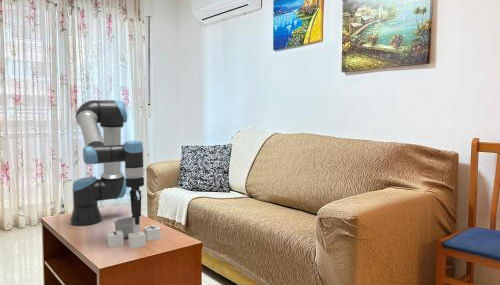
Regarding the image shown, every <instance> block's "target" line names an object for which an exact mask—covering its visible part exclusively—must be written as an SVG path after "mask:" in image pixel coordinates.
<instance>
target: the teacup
mask: <svg viewBox="0 0 500 285" xmlns="http://www.w3.org/2000/svg"><path fill="white" fill-rule="evenodd" d="M114 228H115V231H122V233H123V236H124V239H127V238H128V233H135V232H133V218H132V216H126V217H121V218H118V219H116V220H114Z"/></svg>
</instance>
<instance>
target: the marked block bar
mask: <svg viewBox="0 0 500 285" xmlns="http://www.w3.org/2000/svg"><path fill="white" fill-rule="evenodd" d="M106 238H107V239H106V243H107V246H108V249H109V248H115V247H116V248H117V247H123V246H124V245H125V243H124V242H125V241H124V239H125V238H124V236H123V233H122V231H116V230H115V231H110V232H107V233H106Z"/></svg>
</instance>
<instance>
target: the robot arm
mask: <svg viewBox="0 0 500 285" xmlns="http://www.w3.org/2000/svg"><path fill="white" fill-rule="evenodd" d="M75 121H76V124H77V125H78V126H79V128H80V131H81V134H82V137H83V141H84V145H85V146H84V147H83V148H82V159H83V163H84V164H86V165H92V164H93V165H96V164H98V165H99V164H103V172H102V173H101V175H100V178H97V177H96V176H86V177H82V178H79V179H76V180H74V181H73V183H72V198H73V211H72V214H71V217H70V225H72V226H75V227H76V226H80V227H81V226H89V225H95V224H97V223H100V222H101V221H102V220H103V219H102V218H103V217H102V214H101V213H102V212H100V209H99V206H98V205H99V204H98V202H99V201H107V200H116V199H122V198H124V197H125V196H126V193H127V190H128V189H127V188H130V190H129V197H130V210H131V217H132V218H133V232H141V216H142V197H143V196H142V191H141V190H140V188H141V187H143V186H144V185H145V177H144V176H145V175H144V174H145V173H144V172H145V170H146V169H145V168H144V147H143V141H140V140H128V141H125V142H124V143H123V144H121V140H122V139H121V136H122V135H121V133H122V132H121V131H122V128H123V127H124V125H125V123H127V122H128V112H127V108H126V106H125V103H124V102H123V101H122V100H115V99H109V100H106V99H104V100H99V99H98V100H94V99H91V100H88V101H85V102H84V103H82V104H81V105H80V106H79V107H78V109H77V110H76V113H75ZM98 124H99V125H98ZM100 128H101V129H102V130H103V132H102V134H103V136H102V135H101V131H100ZM122 162H124V173H122V172H121V167H122V165H121V163H122Z"/></svg>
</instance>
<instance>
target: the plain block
mask: <svg viewBox="0 0 500 285" xmlns="http://www.w3.org/2000/svg"><path fill="white" fill-rule="evenodd" d="M127 241H128V246H129V247H130V249H131V250H133V249H136V248H137V249H138V248H143V247H147V240H146V235H145V234H144V231H141V230H140V232H135V233H128V239H127Z"/></svg>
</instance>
